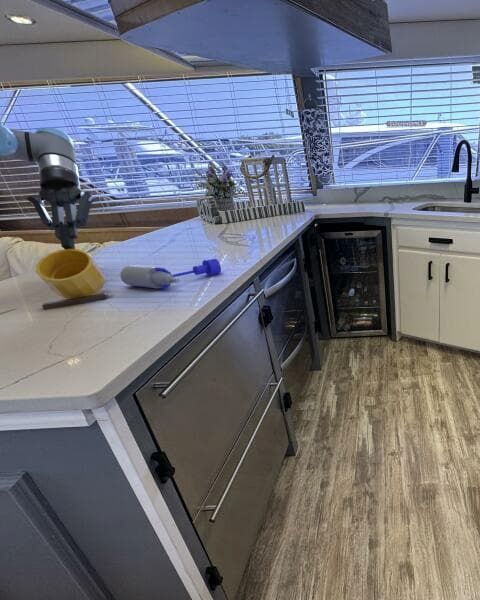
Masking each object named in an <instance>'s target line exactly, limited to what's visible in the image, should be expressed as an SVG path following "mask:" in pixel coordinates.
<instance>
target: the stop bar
mask: <svg viewBox="0 0 480 600" xmlns="http://www.w3.org/2000/svg"><path fill="white" fill-rule="evenodd" d="M108 298H109V294H108V292H101V293H95V294H93V295H89V296H83V297H77V298H71V299H67V298H64V299H60V300H54V301H53V300H52V301H48V302H44V303H42V304H41V306H42V309H43V310H50V309H55V308H60V307H61V308H62V307H66V306H73V305H79V304H83V303H91V302H95V301H101V300H106V299H108Z"/></svg>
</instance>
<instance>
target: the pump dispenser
mask: <svg viewBox="0 0 480 600" xmlns="http://www.w3.org/2000/svg"><path fill="white" fill-rule="evenodd" d="M201 262H202V263H201V264H199V265H193V266H192V269H191V270H187V271H183V272H178V273H173V274H172V272H171V271H169V270H168V269H166V268H165V267H159V266H148V265H147V266H146V265H134V264H131V265H127V266H125V267H123V268H122V269H121V271H120V279H121V281H122V282H123V283H124V284H126V285H127V286H131V287H132V286H133V287H142V288H151V289H152V288H153V289H161V290H165V289H166V288H169V287H170V286H171V284H174V283H176V284H177V283H178V284H179V283H180V281H181V280H180V279H179V278H178V277H182V276H186V275H191V274H194V275H195V276H198V275H203V274H206V275H207V276H209V277H210V276H213V275H218V274H221V272H222V271H221V270H222V266H221V263H220V261H219V260H218V259H217V258H215V257H212V258H208V259H203V260H202V261H201Z"/></svg>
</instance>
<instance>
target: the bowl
mask: <svg viewBox="0 0 480 600" xmlns="http://www.w3.org/2000/svg"><path fill="white" fill-rule="evenodd" d="M35 273H36V274H37V275H38V277H39V278H40V279H42V281H43V282H44V283H45V284H46V285H47V286H49V287H50V289H51V290H53V291H54V293H56V295H58V296H59V297H62V298H64V299H71V298H77V297H83V296H89V295H95V294H98V292H99V291H100V290H102V289H103V288H104V286H105V284H106V283H107V276H106V274H105V273H104V272H103V270H102V268H100V266H99V265H98V264H97V262H96V261H95V260H94V258H93V257H92V256H91V255H90V253H88V252H87V251H85V250H83V249H78V248H75V249H64V248H63V249H59V250H56V251H53V252H50V253H48V254H46V255H45V256H43V257H42V258H40V259H39V261H38V262H37V264H36V266H35Z"/></svg>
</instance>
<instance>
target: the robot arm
mask: <svg viewBox="0 0 480 600" xmlns="http://www.w3.org/2000/svg"><path fill="white" fill-rule="evenodd" d="M0 158H2V159H7V160H8V159H9V160H18V161H24V162H31V163H37V167H38V170H37V171H38V177H39V186H40V190H39V192H38V195H37V196H34V197H33V196H28V197H26V200H27V201H28V202H29V203H30V204H31V205H32V206H33V207H34V208H35V211H36V212H37V214H38V217H39V219H40V220H41V222H42V224H43V225H44V226H45V227H46V228H47V229H48V230H49V231H54V234H55V237H56V239H58V240H59V241H60V246H61V248H62V249H63V250H64V249H76V246H75V239H78V238H79V234H78V233H79V232H78V229H79V227H82V228H84V227H86V226H87V224H88V219H89V214H90V210H91V206H92V204H93V203H94V202H95V200H96V198H95V197H94V196H93V194H92V193H91V192H90V191H82V189H81V183H80V178H79V171H78V170H79V169H78V163H77V156H76V148H75V145H74V141H73V139H72V138H71V137H70V135H68V134H67V133H66V132H64V130H61V129H59V128H56V127H51V126H46V127H40V128H37V129H36V130H35V132H31V131H25V130H19V129H13V128H9V127H7V126H6V125H5V124H3V123H1V122H0ZM44 201H45V202H47V203H48V204H49V205H50V208H51V209H50V211H51V216H50V215H49V213H48V211H47V210H46V209H47V208H45V207H44V206H45V202H44ZM77 203H78V207H77V206H76V204H77ZM64 215H65V217H64ZM64 218H65V219H64Z"/></svg>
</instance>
